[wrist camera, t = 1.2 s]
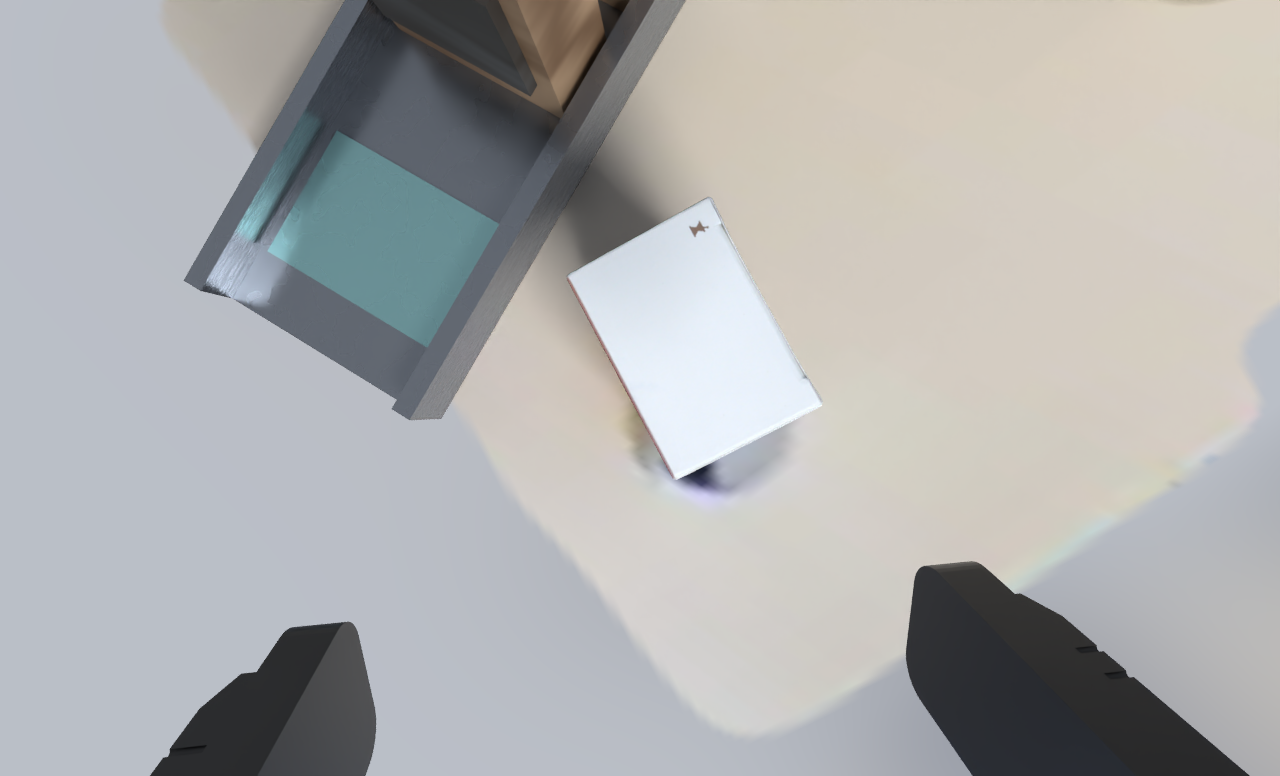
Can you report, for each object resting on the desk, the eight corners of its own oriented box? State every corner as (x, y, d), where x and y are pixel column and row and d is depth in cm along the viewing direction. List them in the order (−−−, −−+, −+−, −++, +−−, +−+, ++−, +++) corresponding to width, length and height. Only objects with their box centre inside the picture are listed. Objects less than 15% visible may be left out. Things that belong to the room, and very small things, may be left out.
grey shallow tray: (484, -131, 31) (459, -198, 28) (697, -20, 30) (698, -76, 27) (239, 294, 32) (183, 280, 28) (441, 418, 31) (409, 420, 27)
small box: (603, 317, 30) (559, 269, 20) (701, 264, 30) (709, 187, 19) (676, 457, 30) (671, 485, 19) (777, 405, 29) (827, 405, 19)
